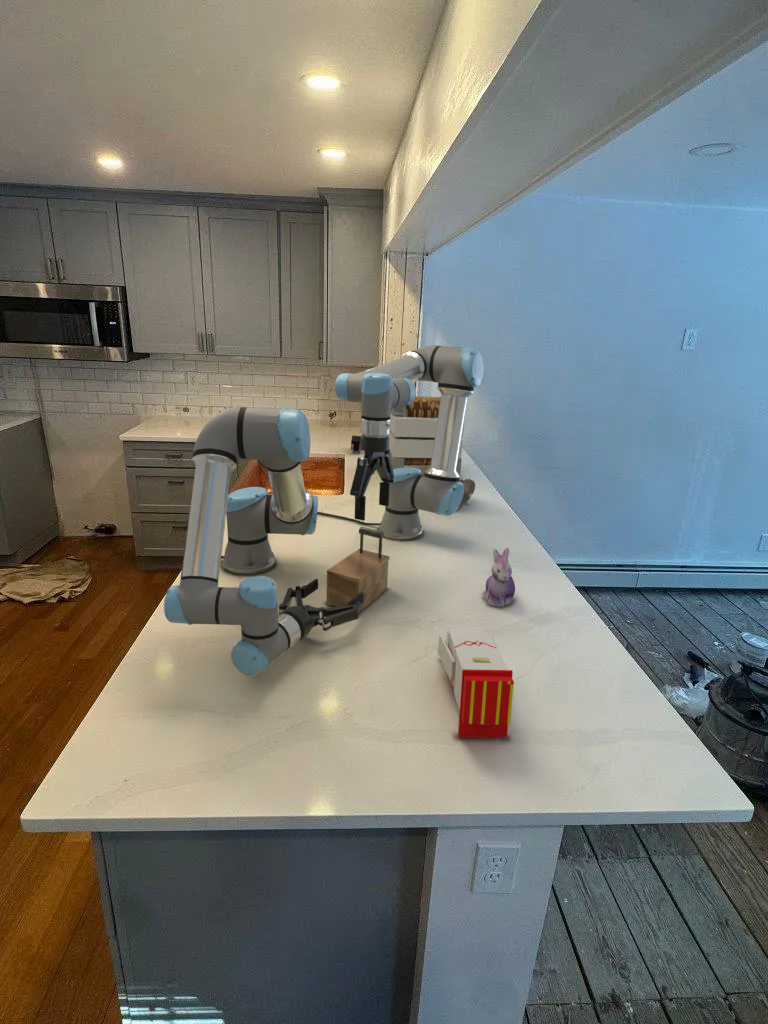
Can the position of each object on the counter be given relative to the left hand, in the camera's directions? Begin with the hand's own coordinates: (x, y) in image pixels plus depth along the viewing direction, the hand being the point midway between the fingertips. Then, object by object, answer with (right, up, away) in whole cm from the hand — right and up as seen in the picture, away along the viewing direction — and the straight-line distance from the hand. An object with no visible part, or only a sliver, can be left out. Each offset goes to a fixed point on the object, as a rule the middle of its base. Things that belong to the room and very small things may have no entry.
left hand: (339, 590), depth 145 cm
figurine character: (-4, +53, +166) cm, 174 cm away
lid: (+5, +5, +8) cm, 11 cm away
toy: (+29, -18, -26) cm, 43 cm away
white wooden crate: (+29, +39, +130) cm, 139 cm away
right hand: (+8, +20, +9) cm, 23 cm away
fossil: (+42, +23, +89) cm, 101 cm away
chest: (+4, -3, +11) cm, 12 cm away
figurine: (+43, -4, +12) cm, 45 cm away
